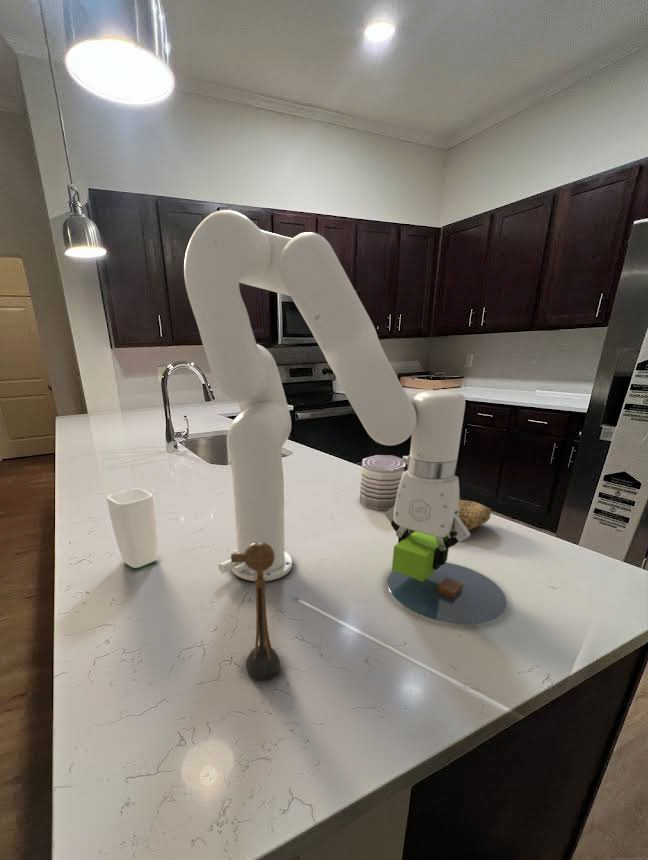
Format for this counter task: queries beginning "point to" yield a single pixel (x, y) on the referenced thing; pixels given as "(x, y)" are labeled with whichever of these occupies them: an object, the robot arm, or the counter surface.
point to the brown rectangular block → (450, 587)
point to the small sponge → (415, 556)
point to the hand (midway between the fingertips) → (420, 559)
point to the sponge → (472, 514)
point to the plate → (467, 607)
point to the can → (380, 481)
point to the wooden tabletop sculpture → (260, 612)
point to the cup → (134, 526)
